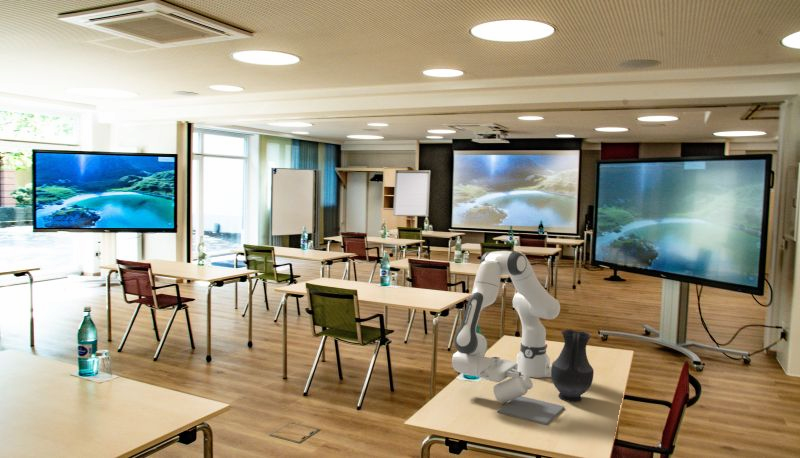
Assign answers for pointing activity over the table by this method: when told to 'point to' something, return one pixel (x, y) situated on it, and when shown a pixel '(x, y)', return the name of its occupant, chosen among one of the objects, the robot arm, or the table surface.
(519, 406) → the mat
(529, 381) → the pill bottle
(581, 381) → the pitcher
